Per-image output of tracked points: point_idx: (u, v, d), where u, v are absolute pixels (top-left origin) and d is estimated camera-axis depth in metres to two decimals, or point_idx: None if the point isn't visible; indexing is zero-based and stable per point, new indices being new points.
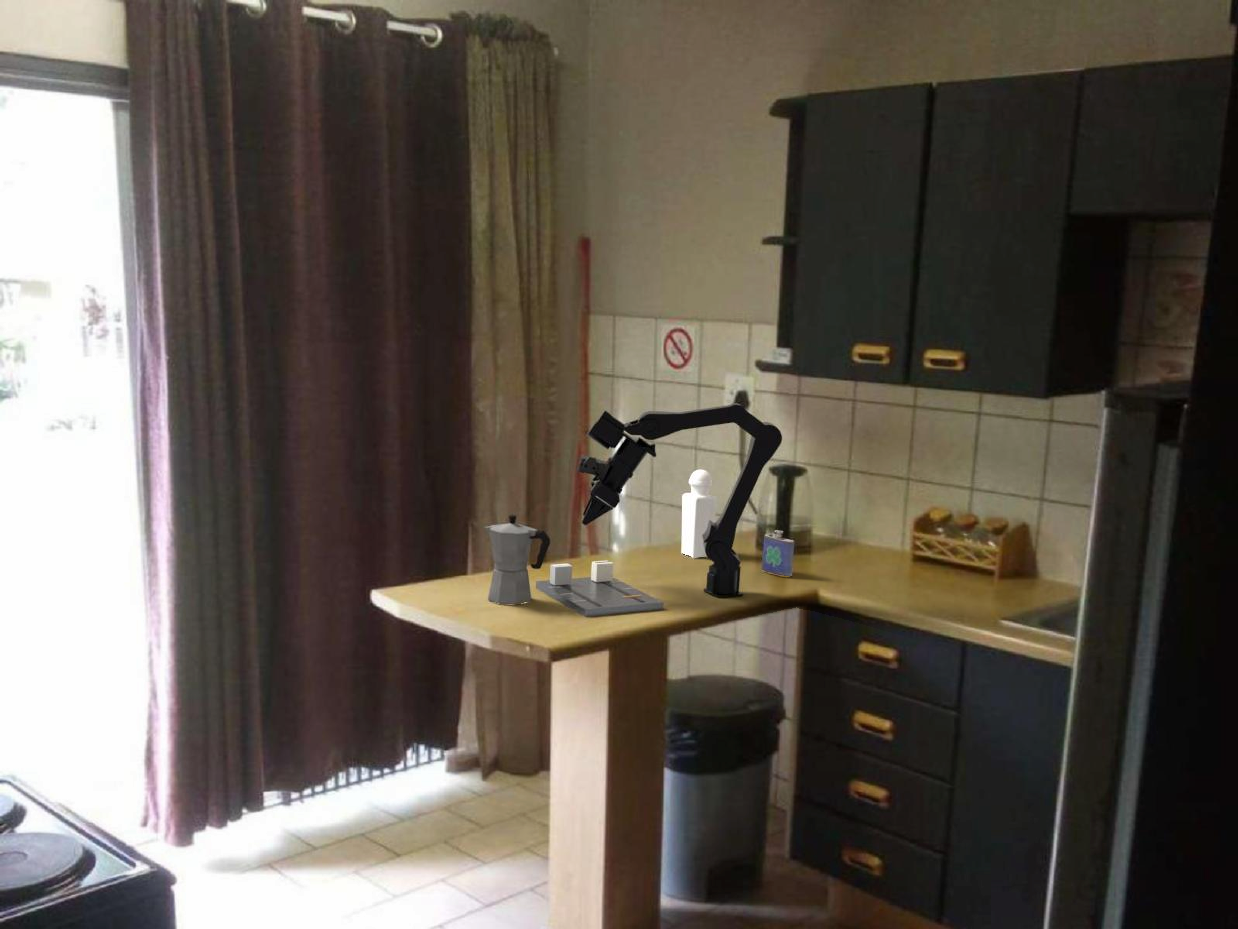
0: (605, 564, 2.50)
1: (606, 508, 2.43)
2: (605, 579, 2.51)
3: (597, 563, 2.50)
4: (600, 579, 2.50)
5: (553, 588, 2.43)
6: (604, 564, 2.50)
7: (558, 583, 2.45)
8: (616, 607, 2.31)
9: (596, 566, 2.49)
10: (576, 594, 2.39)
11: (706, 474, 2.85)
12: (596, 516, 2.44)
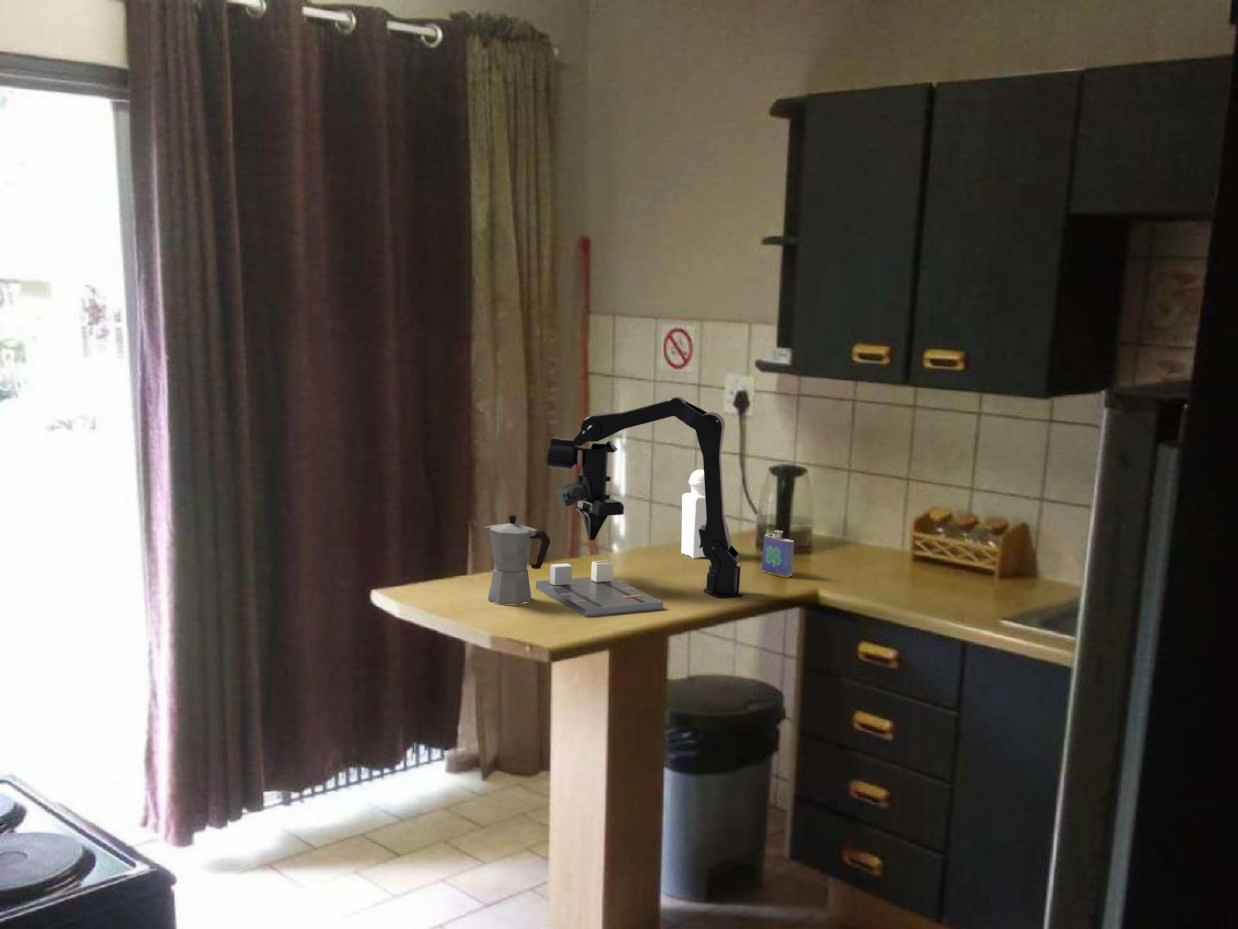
0: (605, 564, 2.50)
1: None
2: (605, 579, 2.51)
3: (597, 563, 2.50)
4: (600, 579, 2.50)
5: (553, 588, 2.43)
6: (604, 564, 2.50)
7: (558, 583, 2.45)
8: (616, 607, 2.31)
9: (596, 566, 2.49)
10: (576, 594, 2.39)
11: None
12: (599, 527, 2.55)
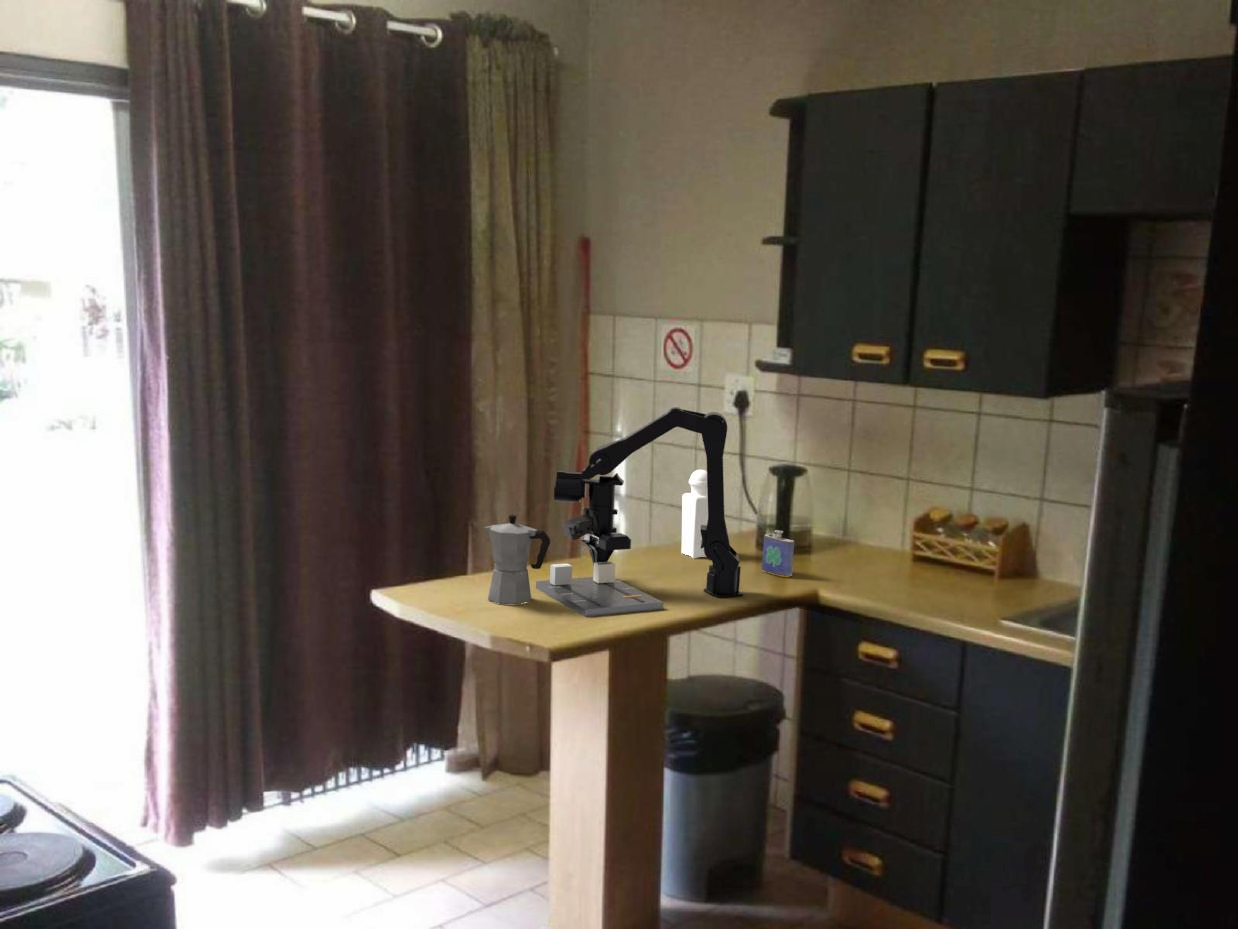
0: (607, 565, 2.49)
1: None
2: (607, 580, 2.50)
3: (599, 564, 2.49)
4: (602, 580, 2.49)
5: (553, 588, 2.43)
6: (607, 565, 2.49)
7: (558, 583, 2.45)
8: (616, 607, 2.31)
9: (598, 567, 2.49)
10: (576, 594, 2.39)
11: (706, 474, 2.85)
12: (606, 560, 2.52)
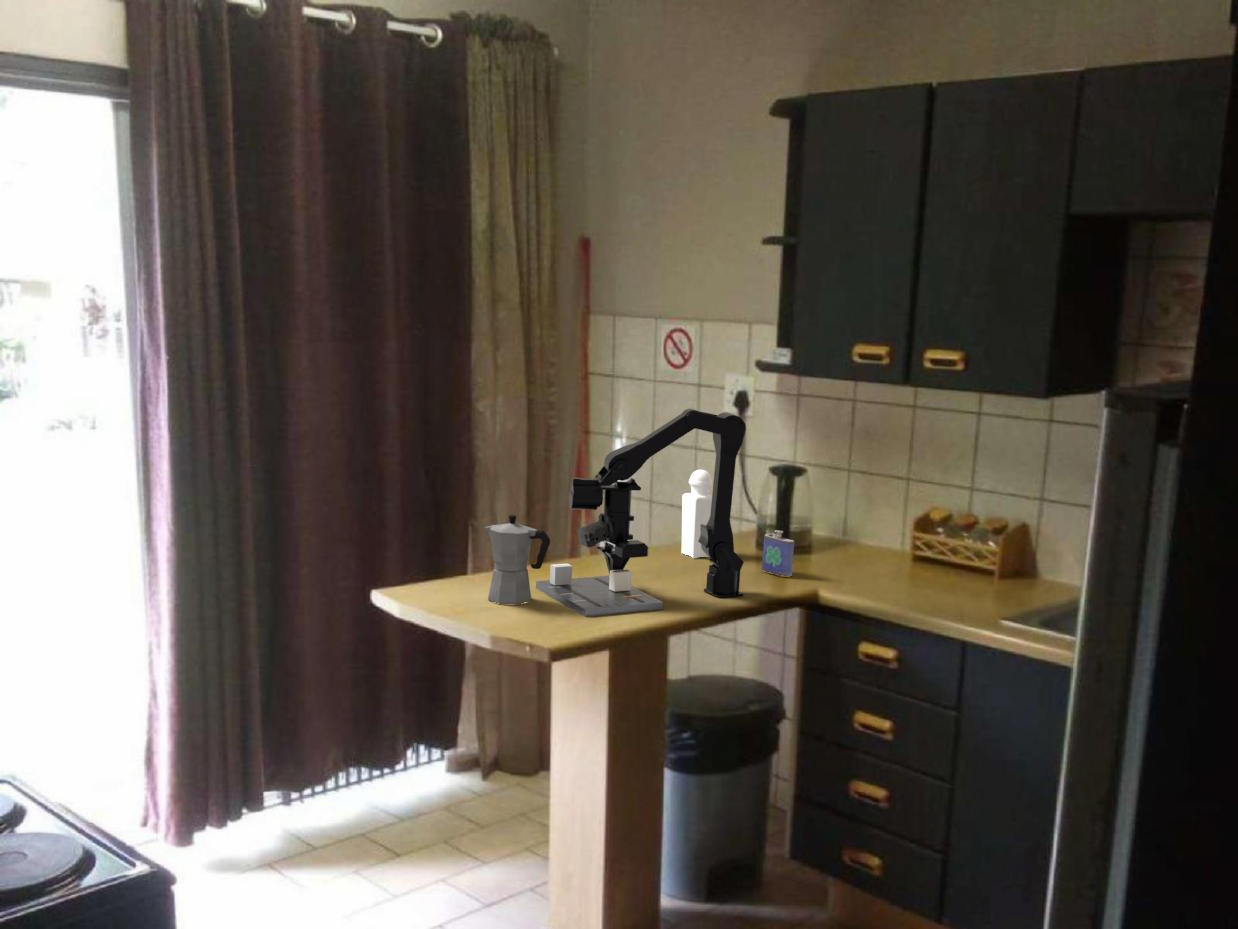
0: (624, 573, 2.43)
1: None
2: (624, 588, 2.43)
3: (615, 572, 2.43)
4: (618, 588, 2.43)
5: (553, 588, 2.43)
6: (623, 573, 2.43)
7: (558, 583, 2.45)
8: (616, 607, 2.31)
9: (614, 575, 2.42)
10: (576, 594, 2.39)
11: (706, 474, 2.85)
12: (622, 568, 2.46)
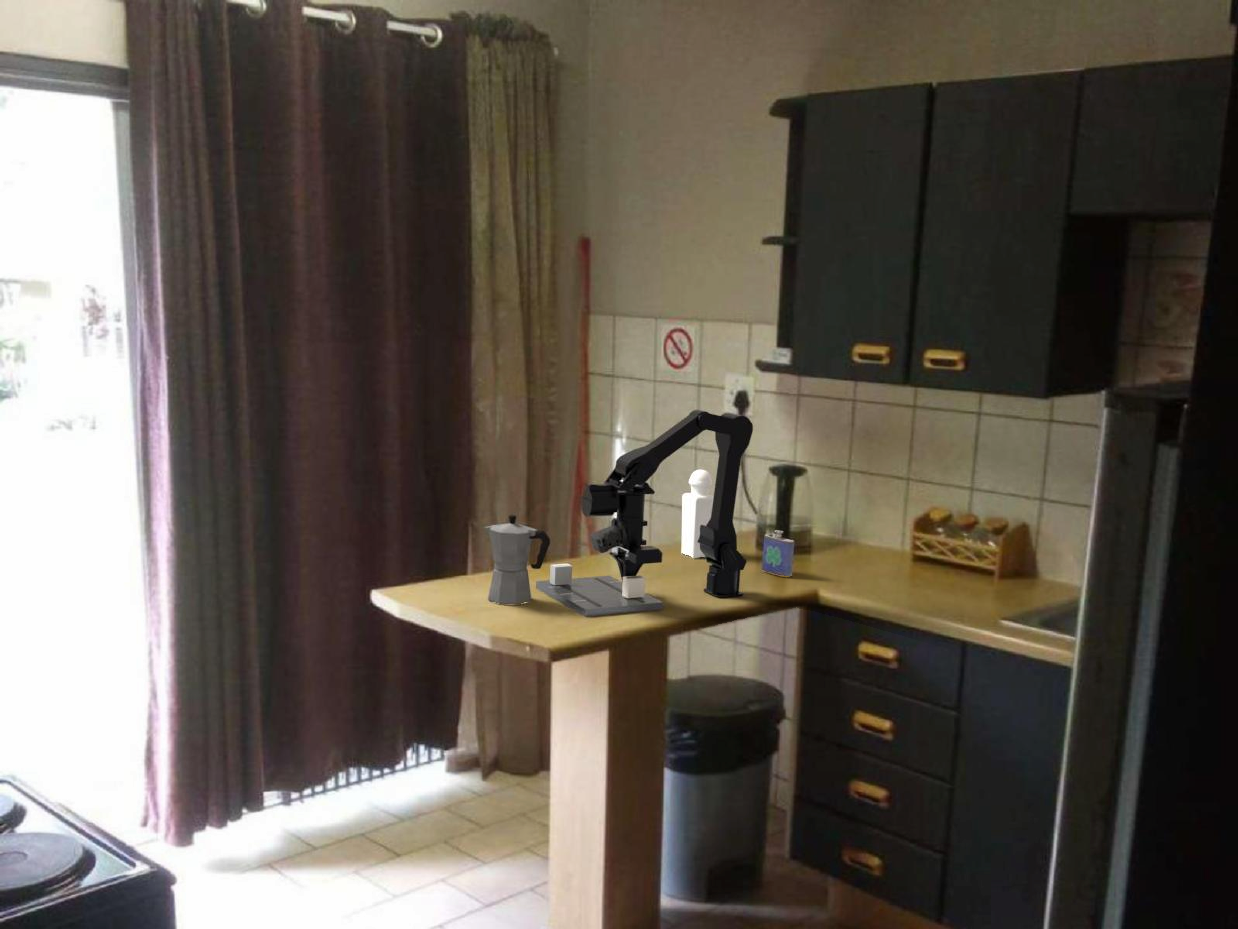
0: (637, 579, 2.38)
1: None
2: (637, 595, 2.38)
3: (629, 578, 2.37)
4: (631, 595, 2.38)
5: (553, 588, 2.43)
6: (636, 580, 2.38)
7: (558, 583, 2.45)
8: (616, 607, 2.31)
9: (628, 581, 2.37)
10: (576, 594, 2.39)
11: (706, 474, 2.85)
12: (635, 574, 2.41)
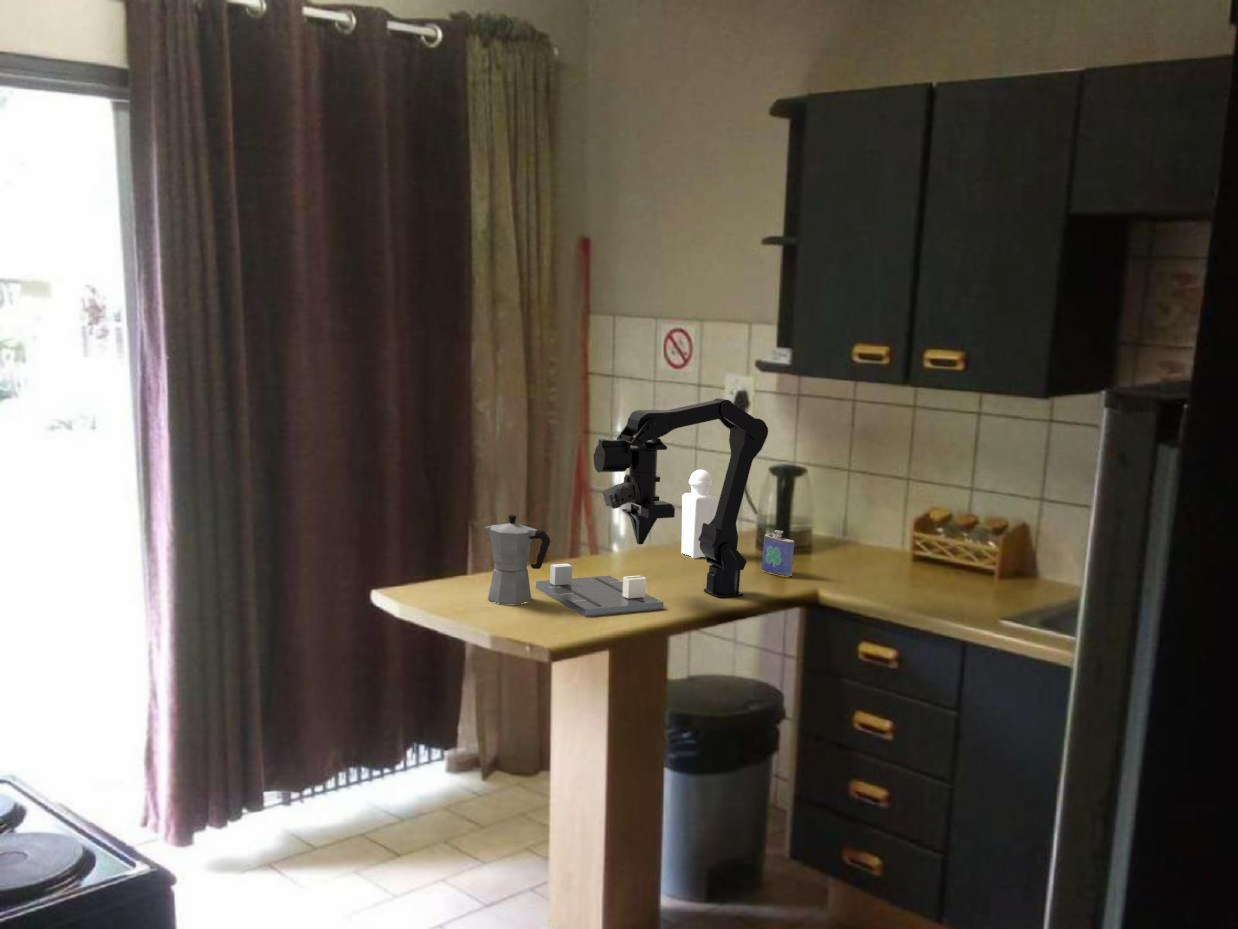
0: (637, 579, 2.38)
1: None
2: (637, 595, 2.38)
3: (629, 578, 2.37)
4: (632, 595, 2.38)
5: (553, 588, 2.43)
6: (637, 580, 2.38)
7: (558, 583, 2.45)
8: (616, 607, 2.31)
9: (628, 581, 2.37)
10: (576, 594, 2.39)
11: (706, 474, 2.85)
12: (648, 530, 2.41)
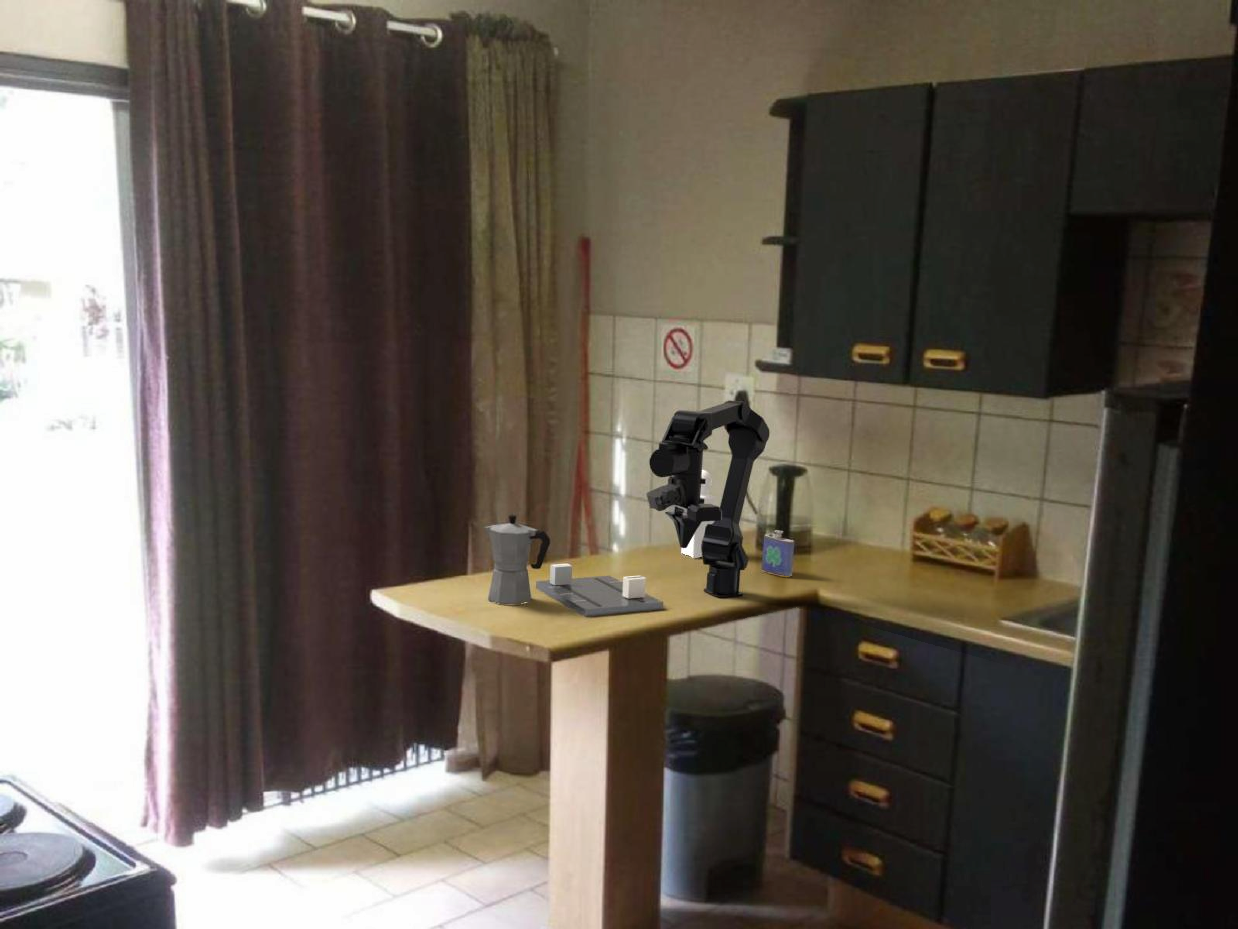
0: (637, 579, 2.38)
1: None
2: (637, 595, 2.38)
3: (629, 578, 2.37)
4: (632, 595, 2.38)
5: (553, 588, 2.43)
6: (637, 580, 2.38)
7: (558, 583, 2.45)
8: (616, 607, 2.31)
9: (628, 581, 2.37)
10: (576, 594, 2.39)
11: (706, 474, 2.85)
12: (692, 533, 2.35)
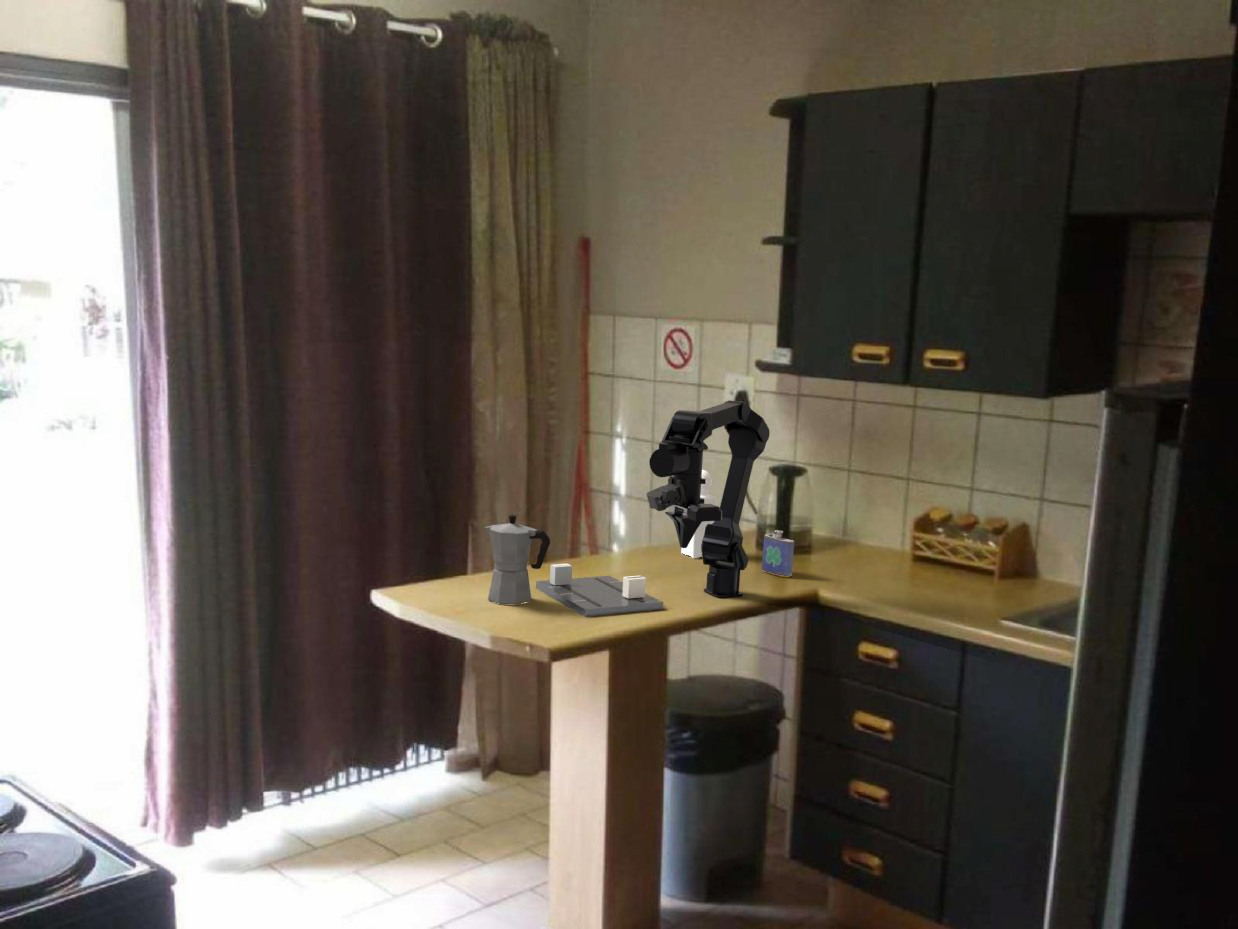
0: (637, 579, 2.38)
1: None
2: (637, 595, 2.38)
3: (629, 578, 2.37)
4: (632, 595, 2.38)
5: (553, 588, 2.43)
6: (637, 580, 2.38)
7: (558, 583, 2.45)
8: (616, 607, 2.31)
9: (628, 581, 2.37)
10: (576, 594, 2.39)
11: (706, 474, 2.85)
12: (692, 533, 2.35)
